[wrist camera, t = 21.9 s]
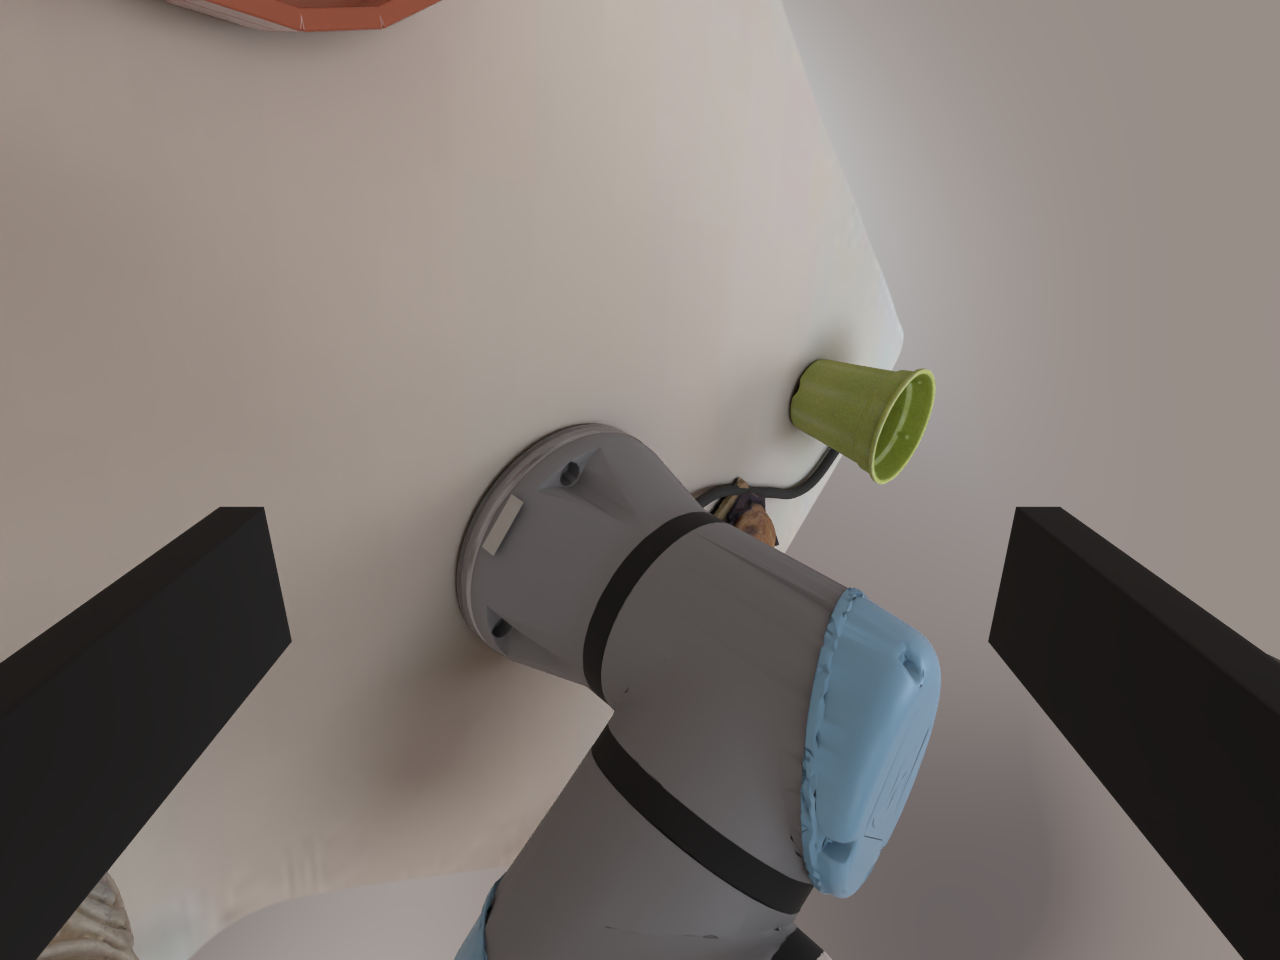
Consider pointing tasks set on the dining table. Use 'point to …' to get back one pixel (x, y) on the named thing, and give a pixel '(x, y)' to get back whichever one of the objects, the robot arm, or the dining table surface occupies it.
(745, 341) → the dining table surface
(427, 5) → the bowl
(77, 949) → the carving
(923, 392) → the plant pot
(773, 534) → the brown domed piece
